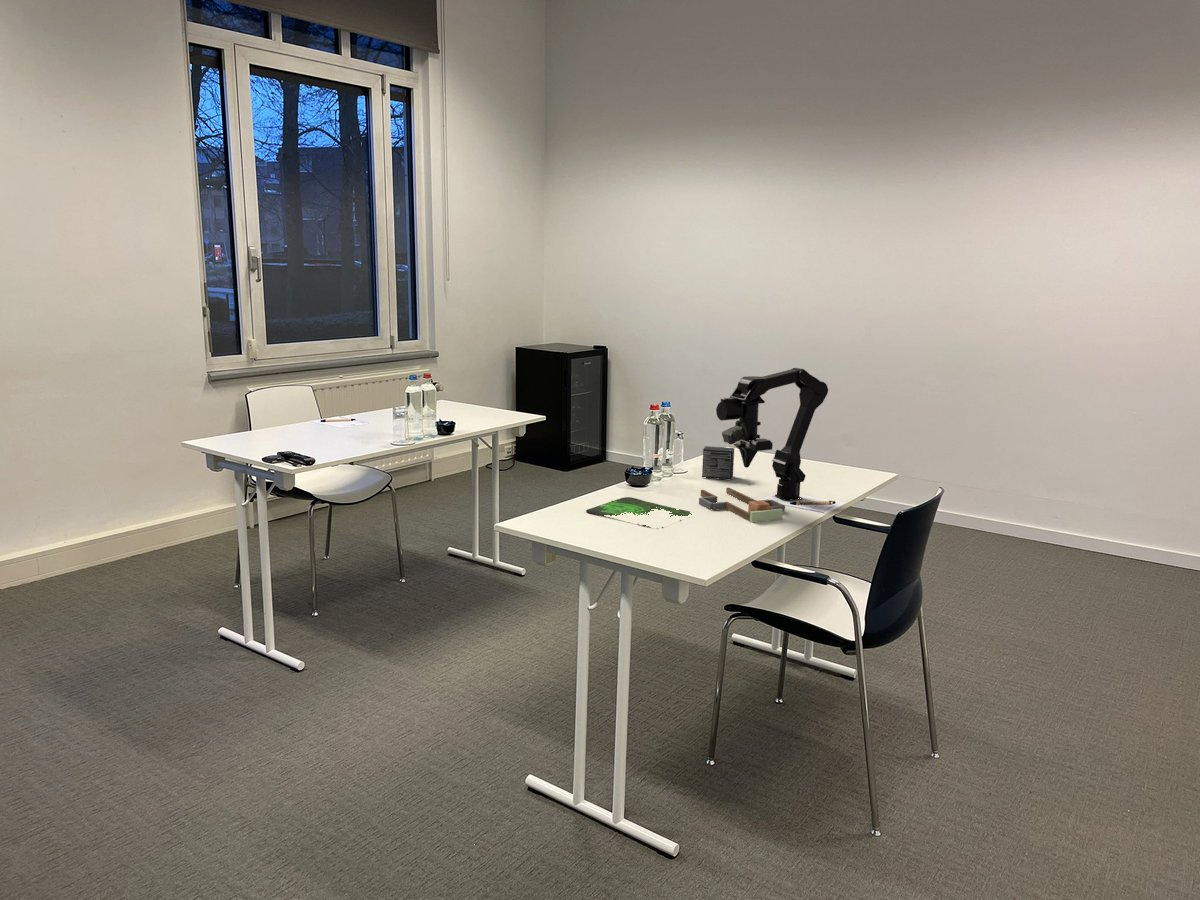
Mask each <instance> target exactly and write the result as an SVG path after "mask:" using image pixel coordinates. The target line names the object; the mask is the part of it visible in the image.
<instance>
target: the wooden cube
mask: <svg viewBox="0 0 1200 900" xmlns="http://www.w3.org/2000/svg"><path fill="white" fill-rule="evenodd" d="M762 500H763V499H762ZM762 500H761V499H760V500H759V499H758V500H757V501H749V505H748V510H747V512H749V513H750V512H752V511H762V510H770V504H769V503H766V502H764V501H762Z"/></svg>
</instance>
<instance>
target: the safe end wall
mask: <svg viewBox="0 0 1200 900" xmlns="http://www.w3.org/2000/svg"><path fill="white" fill-rule="evenodd" d="M782 512H783V509H772V510H762V511H752V512H750V521H749V522H750V523H757V522H758V523H759V522H768V521H769V522H771V521H777V520H783V513H784V512H783V513H782Z"/></svg>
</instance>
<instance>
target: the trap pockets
mask: <svg viewBox="0 0 1200 900" xmlns="http://www.w3.org/2000/svg"><path fill="white" fill-rule="evenodd" d="M714 499H715V497H714V496H709V497H702V496H700V497H698V505H700V506H702V507H703V506H704V507H703V508H705V507H706V508H705V509H707V510H709V511H711V509H713V511H717V510H716V509H719V510H727V509H726V502H727V501H720V502H718V501H717V503H715V502H714ZM762 501H764V502H766V503H769V504H770V507H771V508H773V509H783V512H782V514H783V513H785V512H786V511H785V510H786V505H785V504H782V503H780V502H778V501H776V500H774V499H762Z"/></svg>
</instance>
